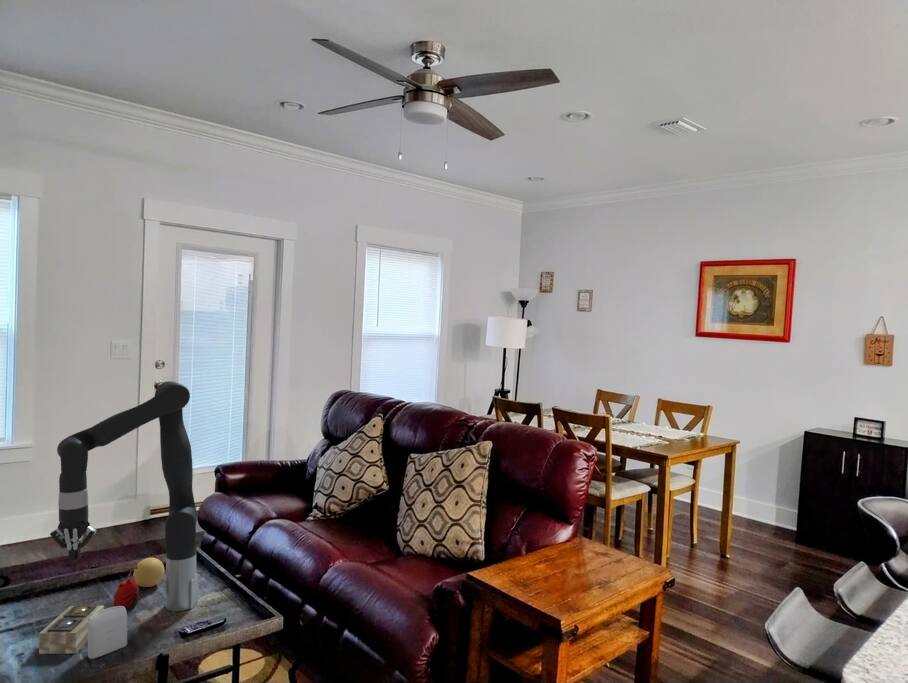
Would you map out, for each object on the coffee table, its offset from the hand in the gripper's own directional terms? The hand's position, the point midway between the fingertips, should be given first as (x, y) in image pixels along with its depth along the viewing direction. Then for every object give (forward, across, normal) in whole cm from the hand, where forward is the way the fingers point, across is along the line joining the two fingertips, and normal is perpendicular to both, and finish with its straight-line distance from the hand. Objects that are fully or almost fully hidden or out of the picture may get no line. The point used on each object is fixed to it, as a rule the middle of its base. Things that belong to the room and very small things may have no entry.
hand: (74, 560), depth 182 cm
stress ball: (+23, -10, -31) cm, 40 cm away
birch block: (+22, -1, +3) cm, 23 cm away
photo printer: (+23, -14, +10) cm, 29 cm away
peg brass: (+22, -1, -1) cm, 22 cm away
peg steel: (+22, 0, +7) cm, 23 cm away
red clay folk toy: (+23, -8, -16) cm, 29 cm away
